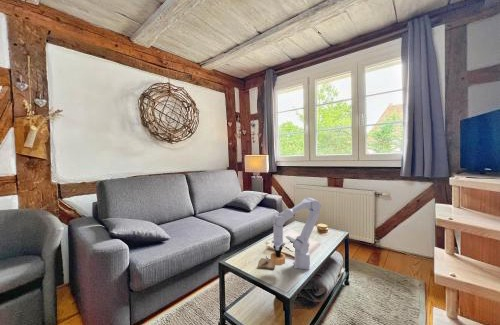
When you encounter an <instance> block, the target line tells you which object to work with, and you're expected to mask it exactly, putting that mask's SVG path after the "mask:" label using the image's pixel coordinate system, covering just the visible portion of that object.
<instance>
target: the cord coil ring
mask: <svg viewBox="0 0 500 325" xmlns="http://www.w3.org/2000/svg"><path fill="white" fill-rule="evenodd" d="M270 259H271V263H272V264H274V265H275V266H283V265H285V264H286V254H285V253H282V252H281V254H280V257H276V253H275V251H274V252H272V253H271V254H270Z"/></svg>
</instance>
